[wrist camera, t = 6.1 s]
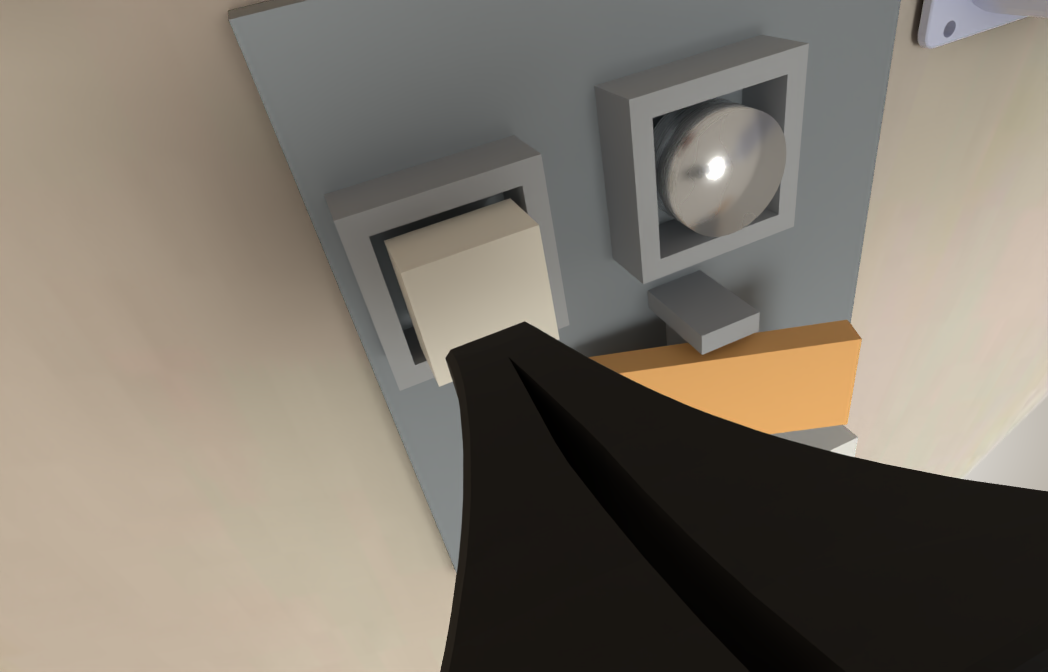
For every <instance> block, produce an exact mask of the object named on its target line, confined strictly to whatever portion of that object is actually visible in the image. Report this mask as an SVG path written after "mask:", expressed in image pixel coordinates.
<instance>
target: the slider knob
mask: <svg viewBox="0 0 1048 672" xmlns="http://www.w3.org/2000/svg"><path fill="white" fill-rule="evenodd" d="M771 435H774V436H777V437H780V438H784V439H787V440H791V441H794V442H798V443H802V444H806V445H809V446H813V447H817V448H820V449H824V450H828V451H832V452H835V453H839V454H843V455H847V456H851V457H855V451H856V446H857V441H858V437H857V436H856V435H855V434H854V433H852V432H851V431H850V430H849V429H847V428H846V427H845V426H843V425H837V426H830V427H822V428H814V429H807V430H799V431H791V432H784V433H776V434H771Z"/></svg>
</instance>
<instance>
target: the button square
mask: <svg viewBox="0 0 1048 672" xmlns="http://www.w3.org/2000/svg"><path fill="white" fill-rule="evenodd" d="M384 242H385V245H386V248H387V251H388V254H389V257H390V260H391V263H392V266H393V269H394V271H395V274H396V277H397V280H398V283H399V286H400V289H401V292H402V295H403V298H404V300H405V303H406V306H407V309H408V312H409V315H410V318H411V321H412V324H413V327H414V329H415V332H416V335H417V338H418V341H419V344H420V347H421V349H422V351H423V354H424V356H425V358H426V360H427V362H428V364H429V366H430V368H431V371H432V373H433V375H434V377H435V379H436V381H437V383H438V385H439V387H440V386H443V385H445V384H448V383H450V382H453V381H452V378H451V375H450V372H449V368H448V365H447V362H446V359H445V358H446V356H447V355H448V353H449V351H450V350H451V349H453V348H456V347H459V346H461V345H464V344H466V343H469V342H472V341H474V340H477V339H480V338H482V337H485V336H487V335H490V334H493V333H495V332H498V331H501V330H503V329H506V328H508V327H511V326H514V325H516V324H519V323H522V322H524V321H525V322H527V323H529V324H531V325H533V326H535V327H536V328H538V329H540V330H542V331H543V332H545V333H547V334H548V335H550V336H552V337H553V338H555V339H557V340H560V339H559V333H558V328H557V322H556V316H555V311H554V305H553V300H552V294H551V289H550V283H549V278H548V272H547V266H546V261H545V255H544V250H543V244H542V239H541V233H540V228H539V224H538V223H536V222H535V221H534V220H533V219H532V218H531V217H530V216H529V215H528V214H527V213H526V212H525V211H524V210H522V209H521V208H520V207H519V206H518V205H517V204H516V203H515V202H514V201H513V200H512V199H511V198H509V199H506V200H503V201H500V202H498V203H495V204H492V205H489V206H486V207H483V208H480V209H477V210H474V211H471V212H468V213H465V214H462V215H459V216H456V217H453V218H450V219H447V220H444V221H441V222H438V223H435V224H432V225H429V226H426V227H423V228H420V229H417V230H414V231H411V232H408V233H405V234H402V235H399V236H396V237H393V238H390V239H387V240H384Z"/></svg>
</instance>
